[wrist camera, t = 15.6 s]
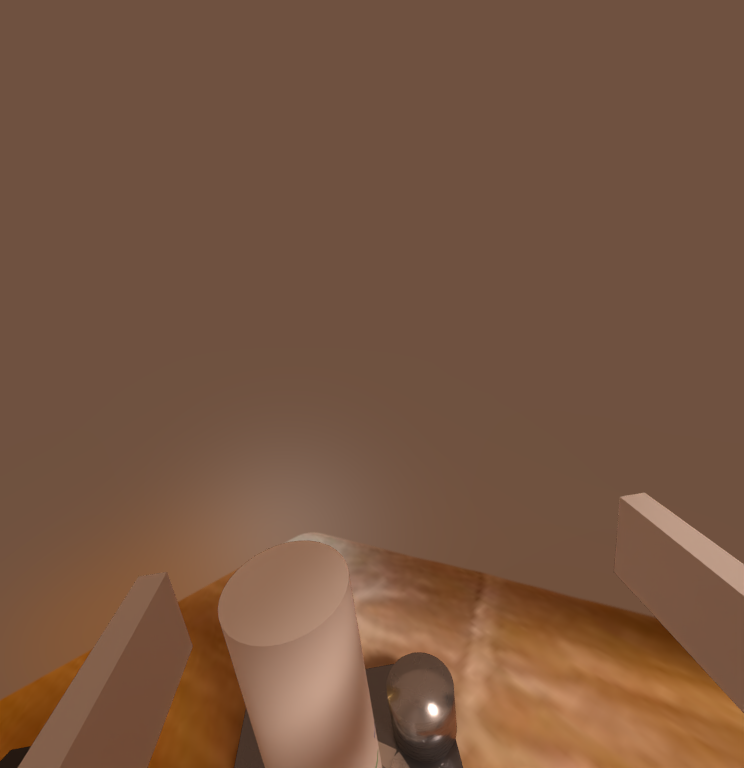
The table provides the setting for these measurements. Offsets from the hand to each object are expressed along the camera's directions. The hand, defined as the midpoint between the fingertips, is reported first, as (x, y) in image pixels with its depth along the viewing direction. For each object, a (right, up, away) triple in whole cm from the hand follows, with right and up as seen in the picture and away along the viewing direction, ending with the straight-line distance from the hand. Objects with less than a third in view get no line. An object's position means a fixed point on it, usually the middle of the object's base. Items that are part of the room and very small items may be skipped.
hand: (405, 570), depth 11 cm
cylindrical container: (-3, -30, +18) cm, 35 cm away
